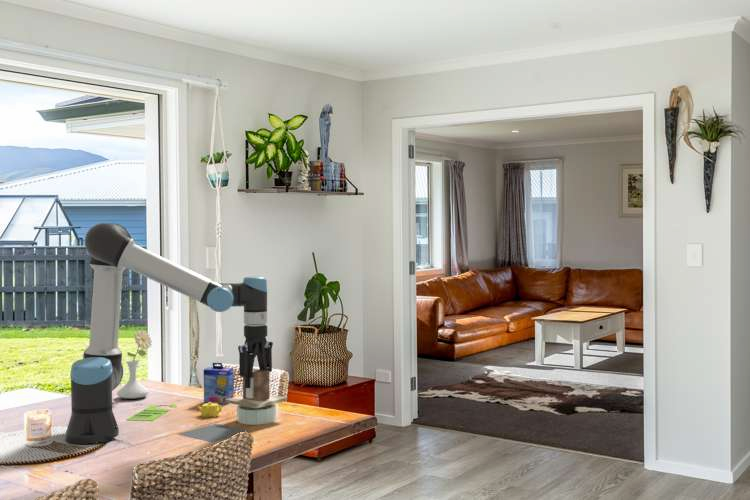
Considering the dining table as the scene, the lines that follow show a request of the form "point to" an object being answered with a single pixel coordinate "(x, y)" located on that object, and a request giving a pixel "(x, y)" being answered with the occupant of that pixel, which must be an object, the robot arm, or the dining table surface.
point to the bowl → (256, 414)
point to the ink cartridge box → (218, 383)
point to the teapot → (210, 409)
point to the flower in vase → (133, 386)
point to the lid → (257, 392)
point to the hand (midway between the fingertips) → (256, 396)
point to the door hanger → (149, 414)
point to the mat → (213, 432)
